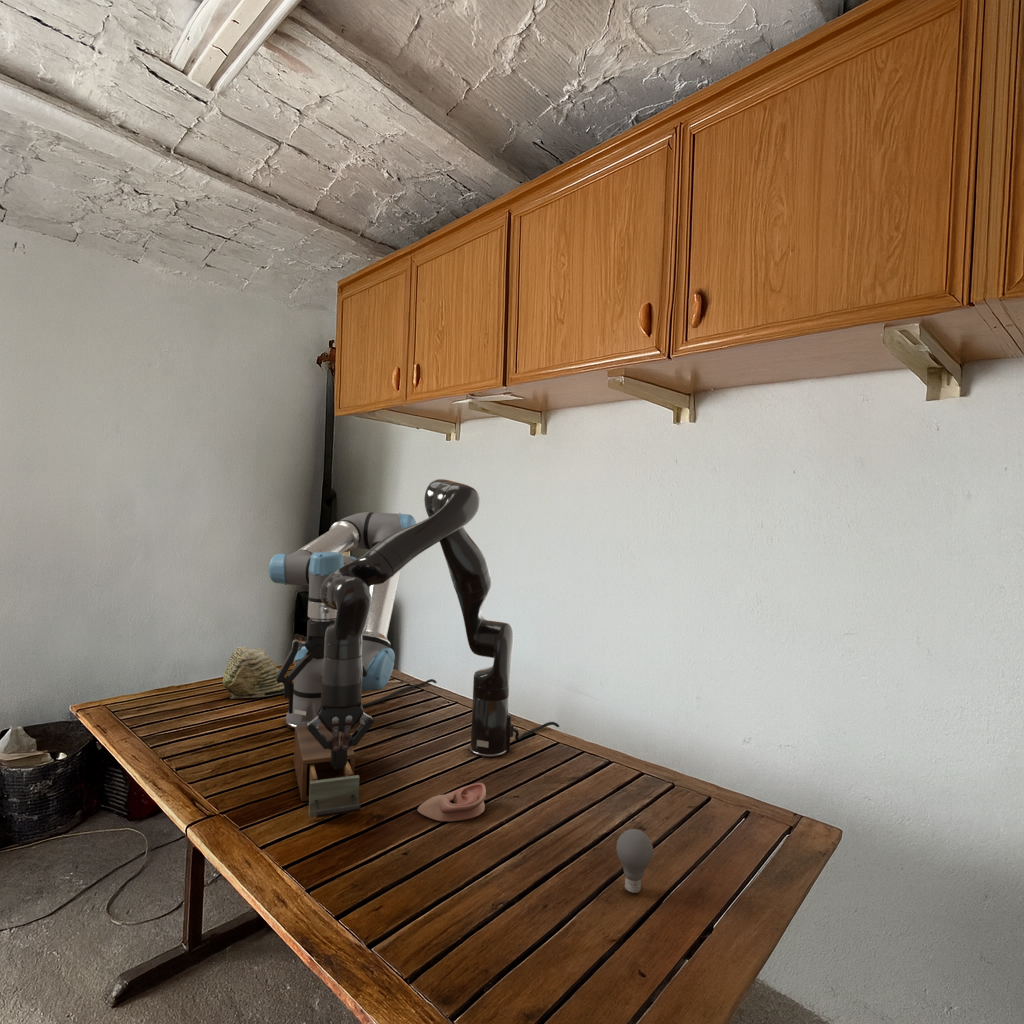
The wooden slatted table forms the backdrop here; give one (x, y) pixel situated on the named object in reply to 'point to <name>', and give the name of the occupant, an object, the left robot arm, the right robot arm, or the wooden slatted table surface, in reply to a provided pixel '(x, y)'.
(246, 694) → the fossil
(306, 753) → the cabinet
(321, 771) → the drawer
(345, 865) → the wooden slatted table surface
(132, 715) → the wooden slatted table surface
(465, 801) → the anatomical model
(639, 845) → the light bulb
